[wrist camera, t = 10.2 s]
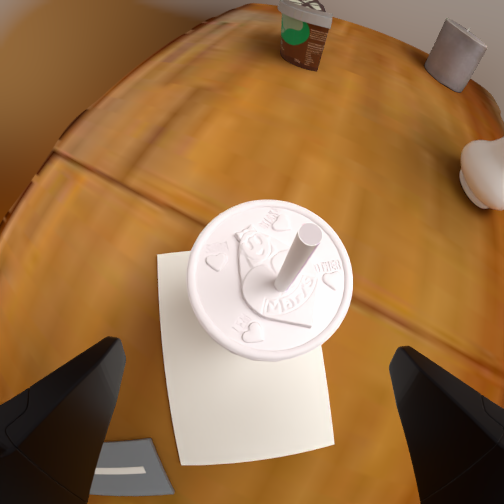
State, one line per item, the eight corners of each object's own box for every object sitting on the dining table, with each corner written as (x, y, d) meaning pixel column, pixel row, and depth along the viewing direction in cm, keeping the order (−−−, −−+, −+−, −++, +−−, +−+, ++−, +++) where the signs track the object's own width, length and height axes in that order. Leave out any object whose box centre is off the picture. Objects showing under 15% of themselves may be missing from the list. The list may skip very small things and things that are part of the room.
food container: (272, 37, 35) (277, -12, 26) (308, 42, 35) (318, -7, 26) (272, 70, 31) (280, 6, 21) (318, 76, 31) (333, 15, 21)
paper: (332, 442, 16) (334, 444, 16) (182, 463, 15) (181, 465, 15) (299, 241, 22) (300, 239, 21) (158, 256, 21) (157, 254, 20)
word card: (174, 491, 14) (173, 494, 13) (91, 492, 13) (88, 494, 12) (151, 437, 16) (148, 439, 15) (69, 442, 14) (66, 444, 14)
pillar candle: (438, 65, 40) (460, 18, 26) (468, 93, 36) (496, 46, 23) (415, 62, 38) (439, 8, 24) (449, 93, 35) (480, 37, 21)
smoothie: (242, 376, 17) (252, 430, 4) (193, 299, 19) (112, 181, 6) (318, 325, 19) (455, 256, 6) (268, 253, 21) (310, 95, 8)
